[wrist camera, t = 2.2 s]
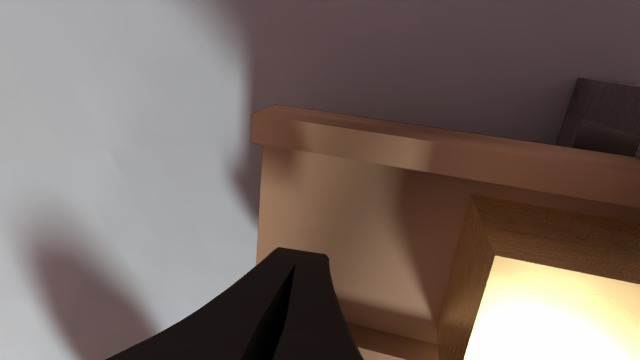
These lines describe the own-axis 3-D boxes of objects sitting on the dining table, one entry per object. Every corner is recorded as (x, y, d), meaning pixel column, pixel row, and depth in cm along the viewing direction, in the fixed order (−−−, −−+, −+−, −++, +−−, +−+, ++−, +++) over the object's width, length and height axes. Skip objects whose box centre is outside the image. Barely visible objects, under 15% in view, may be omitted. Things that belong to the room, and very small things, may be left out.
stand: (647, 66, 13) (816, 78, 8) (534, 357, 17) (601, 477, 12) (584, 59, 13) (713, 66, 8) (489, 349, 17) (536, 466, 12)
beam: (1212, 242, 8) (1443, 297, 6) (972, 476, 11) (1086, 563, 9) (276, 104, 12) (251, 113, 10) (263, 300, 15) (241, 336, 13)
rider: (673, 228, 10) (803, 317, 6) (608, 367, 11) (686, 493, 8) (470, 193, 11) (495, 255, 7) (435, 325, 12) (444, 424, 9)
